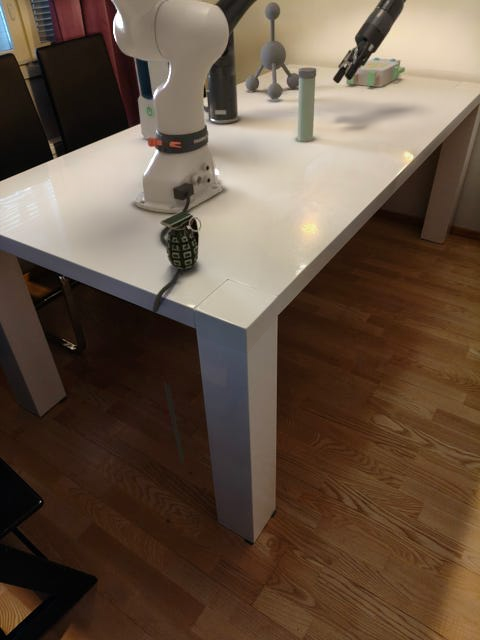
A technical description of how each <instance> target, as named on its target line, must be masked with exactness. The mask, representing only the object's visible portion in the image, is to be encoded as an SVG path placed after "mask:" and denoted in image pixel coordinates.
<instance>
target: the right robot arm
mask: <svg viewBox="0 0 480 640" xmlns="http://www.w3.org/2000/svg"><path fill="white" fill-rule="evenodd" d="M257 1H258V0H217V2H215V3H213V5H216V6H218V7H219V8H220V9H221V10H222V12H223V13H224V15H225V17H226V20H227V23H228V28H229V38H228V43H227V46H226V49H225V51H224V52H223V54H222V55H221V57H220V58H219V59H218V60H216V62H215V63H214V64H213V65H212V67H211V68H210V70H209V72H208V75H207V85H208V87H207V90H206V99H207V106H205V105H204V111H206V112H208V120H209V121H210V122H211V123H214V124H219V125H225V124H232V123H235V122H237V121H239V113H238V112H239V111H238V88H237V70H236V68H237V67H236V49H235V36H234V34H235V32H234V30H235V28H236V27H237V25H238V24H239V22H240V21H241V20H242V18H243V17H244V16H245V14H246V13H247V12H248V10H250V8H251V7H252V6H253V5H254V4H255V3H256V2H257ZM406 2H407V0H379V1H378V3H377V5H376V6H375V7H374V8H373V10H372V12H371V13H369V15H368V16H367V18H366V20H365V21H363V22H364V23H363V24H362V25H361V27H360V28H359V29H358V32H357V33H356V34H355V36H354V41H355V44H356V46H355V47H353V48H352V49H349V50H348V52H347V53H346V54H345V56H344V57H343V59H342V60H341V62H339V64H338V66H337V68H339V69H338V70H337V72H336V73H335V75H334V76H333V78H332V81H333V82H335V84H340V82H341V81H342V80H343V78H346V80H347V79H348V80H351V79H352V77H353V76H354V75H355V73H356V72H357V70H358V69H360V68H361V66H364V65H365V63H366V62H367V61H369V60H370V57H371V56H372V54H375V53H376V52H377V51H378V49H379V47H381V45H382V43H383V41H384V40H385V39H386V37H387V36H388V35H389V33H390V31H391V30H392V28H393V26H394V24H395V23H396V21H397V20H398V18H399V17H400V15H401V14H402V13H403V10H404V7H405V3H406Z"/></svg>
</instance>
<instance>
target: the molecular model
mask: <svg viewBox="0 0 480 640" xmlns="http://www.w3.org/2000/svg"><path fill="white" fill-rule="evenodd" d="M280 14H281V8H280V5H279V4H278V3H276V2H275V1H271V2H269V3H268V4H267V5H266V6H265V8H264V15H265V17H266V18H267V20H269V21H270V40H269V41H267V42H266V43H264V44H263V45H262V47H261V49H260V52H259V60H260V65H259V67H258V68H257V71H256V72H255V74H254V75H250V76H248V77H247V78H246V79H245V87H246V89H247V90H248V91H250V92H254V91H257V90H258V89H259V87H260V79H259V76H260V74H261V73H262V71H263V69H264V68H265V69H266V70H269V71H271V77H272V83H271V84H269V86H267V95H268V97H269V98H270V99H272V100H278V99H279V98H280V97H281V96H282V94H283V87H282V85H281V84H280V83H278V81H277V79H278V78H277V70H278V69H280V68H282V71H284V73H285V74H286V75H287V77H286V85H287V87H288V88H290V89H296V88H299V76H298V73H296V72H291V71H290V70H289V68H288V67H287V66H286V64H285V63H286V62H285V61H286V58H287V52H286V49H285V46H284V45H283V44H282V43H281V42H279V41H278V40H276V38H275V36H276V35H275V33H276V32H275V31H276V30H275V28H276V27H275V23H276V21H275V20H277V19H278V18H279V17H280Z"/></svg>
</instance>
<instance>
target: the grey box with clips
mask: <svg viewBox="0 0 480 640" xmlns="http://www.w3.org/2000/svg"><path fill="white" fill-rule="evenodd" d="M405 70H406V67H404V66H401V59H396V58H391V59H390V58H379V57H374V58H372V59H368V60H367V62H366V63H365V65H364V66H361V68H360V69H358V70H357V72H356V73H355V75H354V76H353V77H352V79H351V80H348V79H347V78H346V84H348V85H359V86H367V87H368V86H370V87H377V88H378V87H379V88H382V87H384V86H386V85H388V84H389V83H391V82H393V81H394V80H395V81H397V80H398V76H399V75H401V74H402V73H404V72H405Z"/></svg>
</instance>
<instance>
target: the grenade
mask: <svg viewBox="0 0 480 640" xmlns="http://www.w3.org/2000/svg"><path fill="white" fill-rule="evenodd" d="M198 222H199V226H198ZM159 224H160V225H162V226H164V227H169V228H170V227H171V228H170V229H169V230H168V231H167V236H166V240H167V245H166V254H167V259H168V261H169V263H170V265H171V266H172V267H174V268H176V269H178V268H180V269H183V270H182V271H186V270H189V269H192V267H194V266H195V265H196V264H197V262H198V261H197V260H198V259H199V243H200V241H199V240H200V233H199V232H200V231H201V228H202V221H201V220H200V219H199V218H198V217H197V216H194V215H193V214H192V213H189V212H187V211H186V212H184V211H181V212H179V213H174V214H172V215H170V216H169V217H166V218H165V219H162V220H160V222H159ZM198 227H199V228H198Z"/></svg>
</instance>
